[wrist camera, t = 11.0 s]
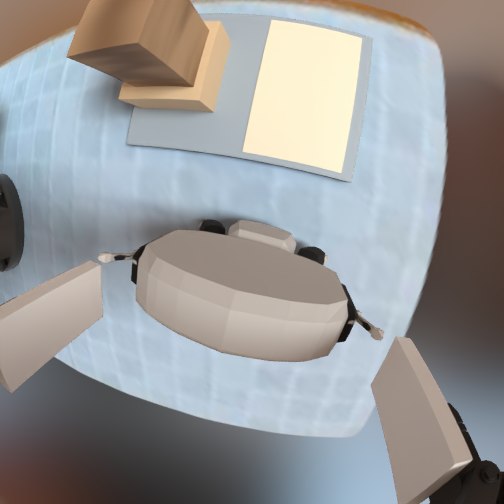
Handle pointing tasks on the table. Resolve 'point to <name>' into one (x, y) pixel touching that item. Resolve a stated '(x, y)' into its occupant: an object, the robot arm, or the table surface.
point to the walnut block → (142, 41)
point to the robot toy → (244, 291)
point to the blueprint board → (264, 96)
